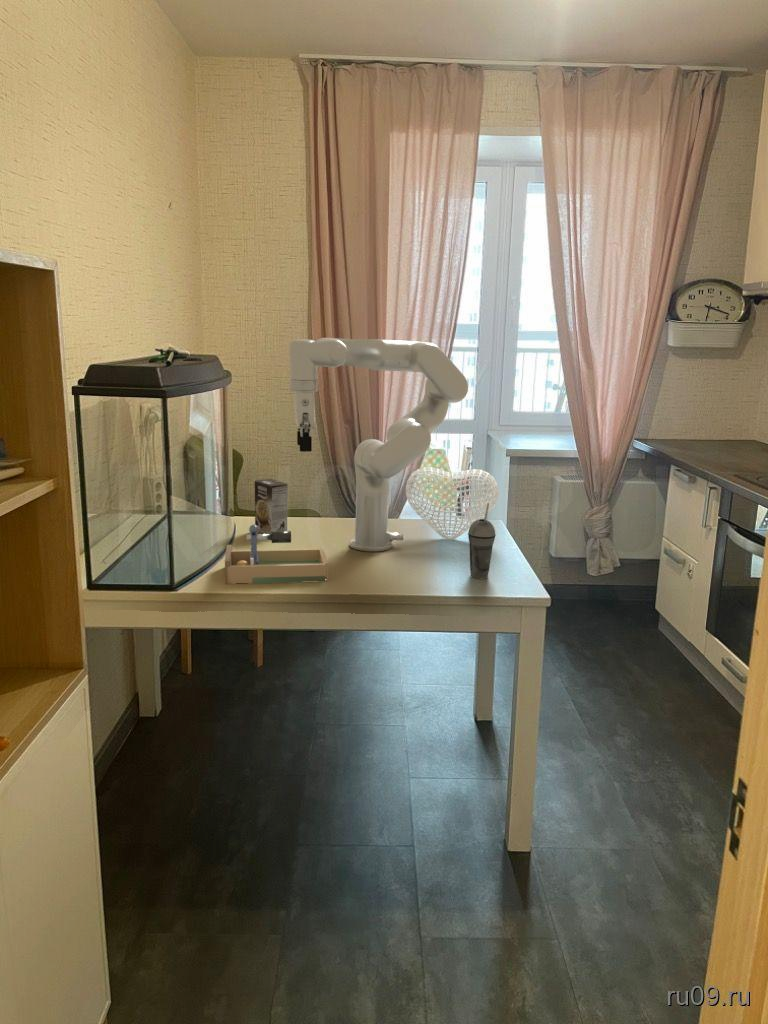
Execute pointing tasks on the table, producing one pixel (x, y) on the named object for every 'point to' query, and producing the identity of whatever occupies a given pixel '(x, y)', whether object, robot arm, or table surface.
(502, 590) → the table surface
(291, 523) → the table surface
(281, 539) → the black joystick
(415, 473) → the heart
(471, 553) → the beverage cup
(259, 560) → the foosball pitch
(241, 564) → the foosball ball
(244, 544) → the table surface
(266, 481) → the coffee box
